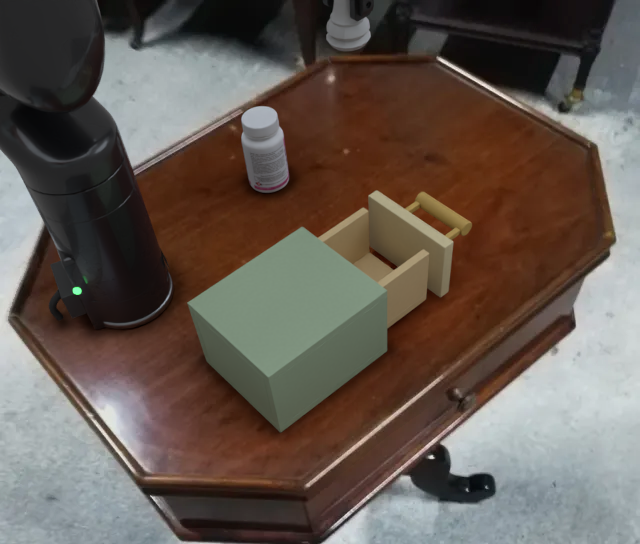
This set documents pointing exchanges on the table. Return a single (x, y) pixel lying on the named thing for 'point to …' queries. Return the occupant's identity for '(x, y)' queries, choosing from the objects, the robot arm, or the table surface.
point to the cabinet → (291, 326)
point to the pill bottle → (264, 149)
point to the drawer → (400, 248)
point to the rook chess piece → (346, 28)
